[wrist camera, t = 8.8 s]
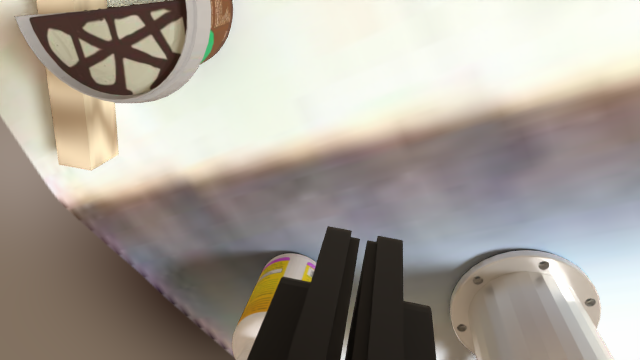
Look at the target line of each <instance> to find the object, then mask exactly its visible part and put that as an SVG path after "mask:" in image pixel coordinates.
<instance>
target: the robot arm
mask: <svg viewBox="0 0 640 360" xmlns="http://www.w3.org/2000/svg"><path fill="white" fill-rule="evenodd" d="M359 241H360V239H358V238H353V237H351V231H350V230H345V229H340V228H334V227H329V226H328V228H327V231H326V234H325V237H324V241H323V244H322V247H321V250H320V254H319V257H318V260H317V263H316V267H315V270H314V273H313V276H312V280H311V282H308V281H303V280H298V279H293V278H288V277H282V278H281V279H280V281H279V284H278V286H277V288H276V291H275V293H274V296H273V298H272V300H271V303H270V305H269V308H268V310H267V312H266V315H265V317H264V320H263V322H262V324H261V327H260V329H259V332H258V334H257V336H256V339H255V341H254V344H253V346H252V349H251V351H250V353H249V356H248V358H247V360H340V358H341V352H342V346H343V340H344V334H345V327H346V321H347V315H348V309H349V303H350V297H351V290H352V284H353V278H354V272H355V266H356V260H357V253H358V247H359ZM600 314H601V305H600V299H599V295H598V293H597V291H596V289H595V287H594V285H593V284H592V282H591V281H590V279H589V278H588V276H587V275H586V274H585V273H584V272H583V271H582V270H581V269H580V268H579V267H578V266H576V265H575V264H573V263H571V262H570V261H568V260H567V259H564V258H562V257H559V256H557V255H555V254H550V253H546V252H542V251H530V250H522V251H510V252H506V253H502V254H498V255H495V256H492V257H490V258H488V259H485V260H483V261H481V262H480V263H478V264H477V265H475V266H473V267H472V268H471V269H470V270H469V271H468V272H466V273H465V274H464V275H463V276H462V278H461V279H460V280H459V282H458V283H457V284H456V286H455V288H454V291H453V293H452V295H451V301H450V317H451V322H452V327H453V329H454V331H455V333H456V336H457V337H458V338H459V340H460V341H461V342H462V344H463V345H464V346H465V347H466V348H467V349H469V350H470V351H471V352H472V353H474V354H475V355H476V358H477V360H614V358H613V356H612V355H611V353H610V351H609V350H608V348H607V346H606V344H605V343H604V341H603V339H602V338H601V336H600V334H599V332H598V331H597V326H598V323H599V321H600ZM345 360H436V352H435V342H434V332H433V322H432V313H431V308H430V307H429V306H425V305H420V304H415V303H410V302H405V301H403V241H402V240H397V239H392V238H387V237H381V236H378V238H377V242H373V241H367V245H366V250H365V255H364V260H363V266H362V271H361V276H360V281H359V286H358V291H357V297H356V302H355V307H354V312H353V317H352V322H351V328H350V333H349V338H348V344H347V351H346V357H345Z"/></svg>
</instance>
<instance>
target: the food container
mask: <svg viewBox="0 0 640 360" xmlns="http://www.w3.org/2000/svg"><path fill="white" fill-rule="evenodd" d="M14 17H15V19H16V21H17V24H18V26H19V29H20V31H21V33H22V34H23V36H24V38H25V40H26V42H27V43H28V45H29V47H30V48H31V49H32V51H33V52H34V54H35V55H36V56H37V58H38V59H39V60H40V61H41V62H42V63H43V64H44V66H45V67H46V68H47V69H48V70H49V71H50V72H52V73H53V74H54V75H55V76H56V77H57V78H58V79H60V80H61V81H62V82H64V83H65V84H67V85H68V86H70V87H71V88H73V89H75V90H77V91H79V92H81V93H83V94H85V95H88V96H91V97H94V98H97V99H100V100H103V101H109V102H114V103H143V102H149V101H155V100H158V99H161V98H164V97H166V96H168V95H170V94H172V93H173V92H175V91H177V90H179V89H180V88H181V87H182V86H183V85H184V84H185V83H186V82H188V81H189V79H190V78H191V77H192V75H193V74H194V73H195V72H196V70H197V69H198V67H199V65H200V64H202V63H203V62H205V61H207V60H208V59H210V58H211V57H213V56H214V55H215V54H216V53H217V52H218V51H219V50H220V48H221V47H222V46H223V44H224V43H225V41H226V39H227V37H228V34H229V31H230V28H231V23H232V17H233V4H232V0H172V1H164V2H155V3H147V4H140V5H135V4H133V5H130V6H125V7H124V6H121V7H108V8H107V9H100V8H99V9H98V10H90V11H87V10H84V11H77V12H65V13H52V14H39V15H26V16H14Z"/></svg>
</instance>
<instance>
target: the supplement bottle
mask: <svg viewBox="0 0 640 360" xmlns="http://www.w3.org/2000/svg"><path fill="white" fill-rule="evenodd" d="M315 267H316V262H315V261H313V260H312V259H310V258H308V257H306V256H303V255H300V254H294V253H287V254H282V255H279V256H276V257H274V258H273V259H271V260H270V261H269V262H268V263H267V264H266V266H265V267H264V269H263V271H262V273H261V275H260V277H259V279H258V281H257V284H256V286H255V288H254V290H253V292H252V294H251V296H250V299H249V301H248V303H247V305H246V307H245V309H244V312H243V314H242V316H241V318H240V320H239V322H238V324H237V327H236V329H235V331H234V334H233V338H232V350H233V354H234V357H235V359H236V360H247V358H248V356H249V353H250V351H251V349H252V346H253V344H254V341H255V339H256V336H257V334H258V332H259V329H260V327H261V324H262V322H263V320H264V317H265V315H266V312H267V310H268V308H269V305H270V303H271V300H272V298H273V296H274V293H275V291H276V288H277V286H278V284H279V281H280V279H281V278H282V277H288V278H293V279H298V280H303V281H308V282H311V280H312V276H313V273H314V270H315Z"/></svg>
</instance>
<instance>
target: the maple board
mask: <svg viewBox="0 0 640 360" xmlns="http://www.w3.org/2000/svg"><path fill="white" fill-rule="evenodd" d="M36 2H37V10H38V15H39V14H52V13H65V12H77V11H84V10H87V11H90V10H98V9H99V8H100V9H107V0H36ZM46 75H47V82H48V89H49V96H50V103H51V111H52V118H53V125H54V132H55V140H56V147H57V154H58V161H59V165H65V166H70V167H75V168H81V169H86V170H91V171H92V170H93V169H95V168H97V167H98V166H100V165H102V164H103V163H105V162H107V161H108V160H110V159H112V158H113V157H115V156H117V155H118V154H119V153H118V140H117V127H116V114H115V103H114V102H109V101H103V100H100V99H97V98H94V97H91V96H88V95H85V94H83V93H81V92H79V91H77V90H75V89H73V88H71V87H70V86H68V85H67V84H65V83H64V82H62V81H61V80H60V79H58V78H57V77H56V76H55V75H54V74H53V73H52V72H50V71H49V70H48V69H47V68H46Z"/></svg>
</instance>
